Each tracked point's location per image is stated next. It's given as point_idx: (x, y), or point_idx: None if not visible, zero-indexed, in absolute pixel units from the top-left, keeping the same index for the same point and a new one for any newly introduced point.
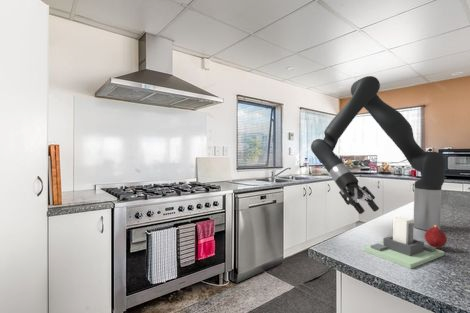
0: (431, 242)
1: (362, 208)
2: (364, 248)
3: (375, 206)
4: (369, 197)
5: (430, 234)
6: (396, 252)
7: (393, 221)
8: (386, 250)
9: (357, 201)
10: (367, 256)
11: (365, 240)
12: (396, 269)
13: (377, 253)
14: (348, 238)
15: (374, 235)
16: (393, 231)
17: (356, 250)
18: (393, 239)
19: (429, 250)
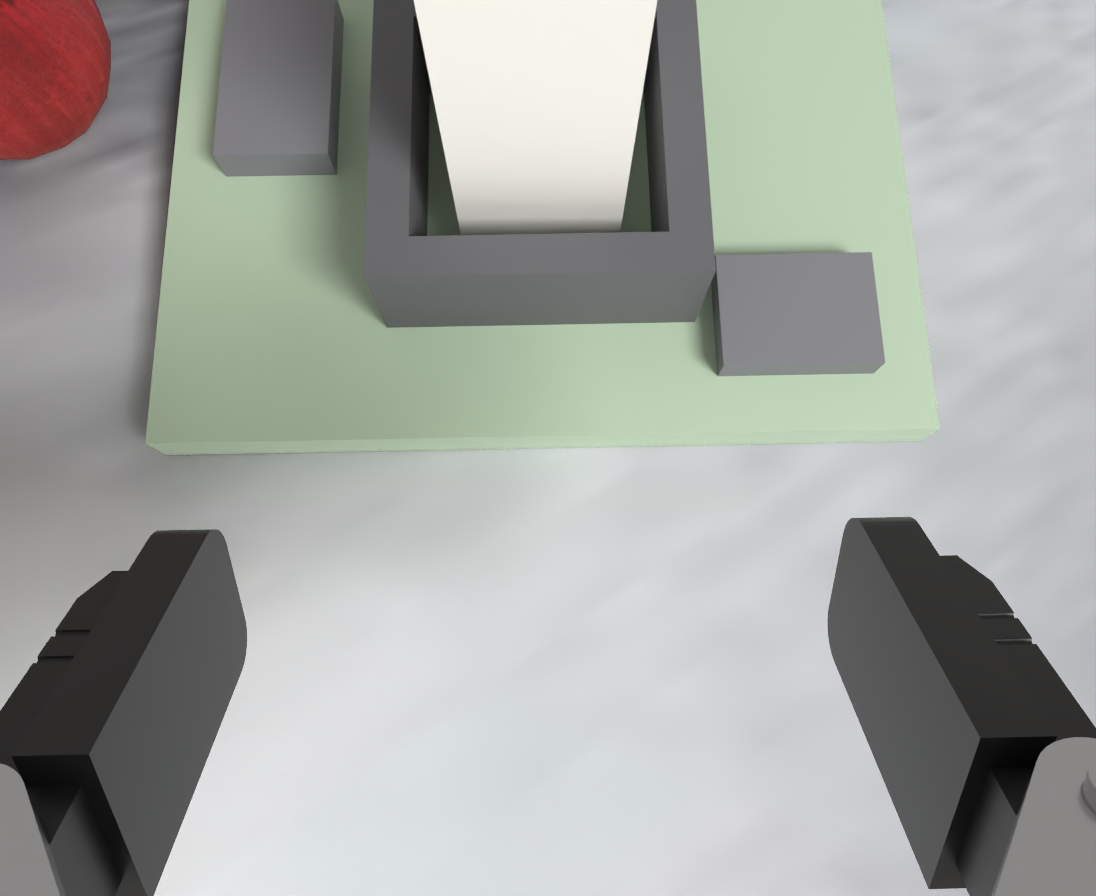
0: (108, 67)
1: (914, 553)
2: (931, 420)
3: (194, 598)
4: (18, 887)
5: (51, 6)
6: (711, 168)
7: (653, 16)
8: (763, 246)
9: (1038, 762)
10: (1012, 322)
11: (558, 670)
12: (994, 42)
13: (910, 266)
14: (725, 852)
15: (213, 755)
16: (634, 129)
17: (994, 486)
18: (623, 194)
19: (341, 25)
